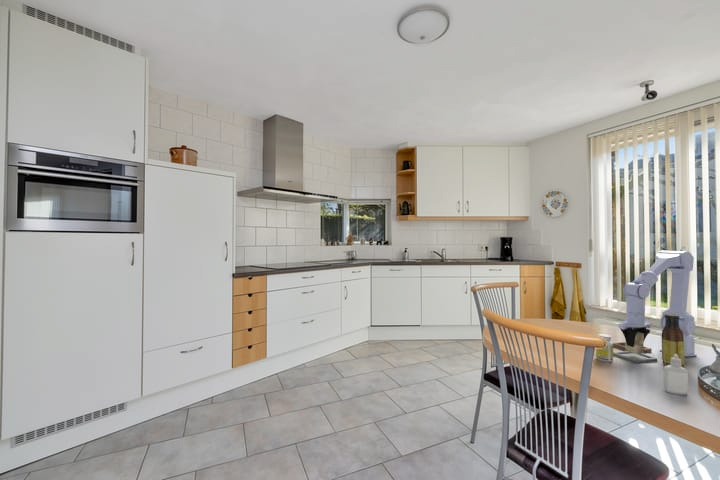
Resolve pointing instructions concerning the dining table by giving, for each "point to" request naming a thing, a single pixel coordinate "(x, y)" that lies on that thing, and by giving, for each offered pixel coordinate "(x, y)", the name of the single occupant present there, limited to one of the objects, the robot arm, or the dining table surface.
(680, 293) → the robot arm
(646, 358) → the tray
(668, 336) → the sauce bottle
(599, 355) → the supplement bottle
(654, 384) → the dining table surface
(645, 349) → the holder
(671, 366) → the eye dropper bottle
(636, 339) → the peg
